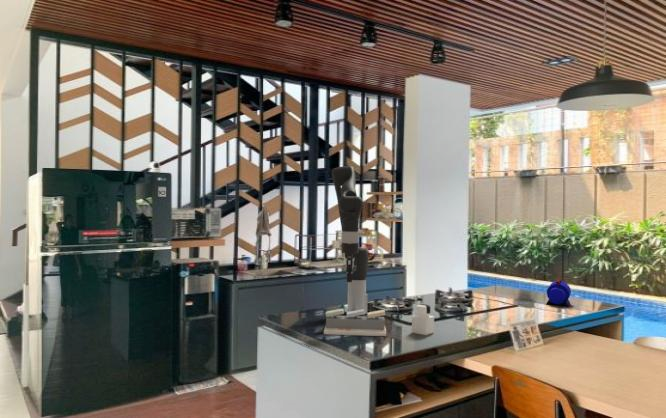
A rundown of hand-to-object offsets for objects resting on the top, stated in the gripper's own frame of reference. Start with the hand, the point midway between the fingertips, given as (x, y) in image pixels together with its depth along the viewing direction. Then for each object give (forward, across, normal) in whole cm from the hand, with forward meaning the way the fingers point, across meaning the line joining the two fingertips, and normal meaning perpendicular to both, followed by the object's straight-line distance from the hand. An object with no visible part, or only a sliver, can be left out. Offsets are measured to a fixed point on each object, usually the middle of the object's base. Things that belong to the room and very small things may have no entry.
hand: (349, 281), depth 224 cm
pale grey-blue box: (+15, +1, +3) cm, 16 cm away
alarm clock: (+21, -80, +118) cm, 144 cm away
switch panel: (+21, +3, +3) cm, 22 cm away
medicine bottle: (+21, +1, +32) cm, 38 cm away
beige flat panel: (+15, +1, +12) cm, 20 cm away
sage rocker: (+15, +1, -6) cm, 16 cm away
